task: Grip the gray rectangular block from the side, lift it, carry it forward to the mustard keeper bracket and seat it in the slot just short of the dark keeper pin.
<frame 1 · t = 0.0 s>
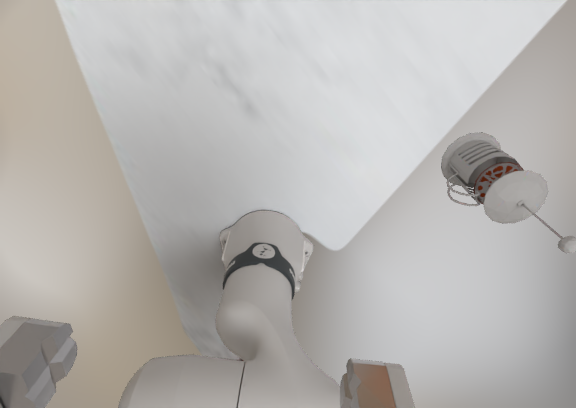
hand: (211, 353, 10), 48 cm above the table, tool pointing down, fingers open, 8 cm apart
french press: (464, 161, 57), on the table
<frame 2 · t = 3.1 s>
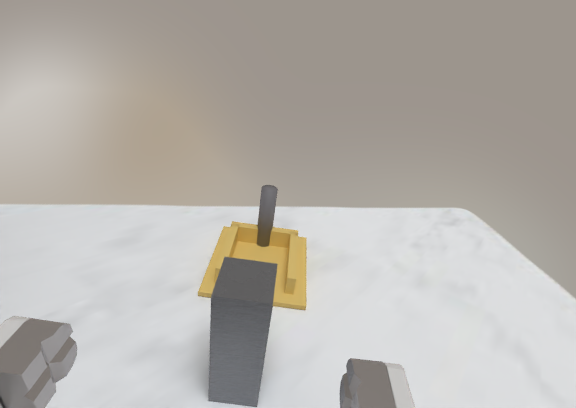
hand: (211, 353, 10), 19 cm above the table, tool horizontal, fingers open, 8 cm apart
gray rectangular block: (237, 380, 29), on the table
keeper: (258, 267, 42), on the table
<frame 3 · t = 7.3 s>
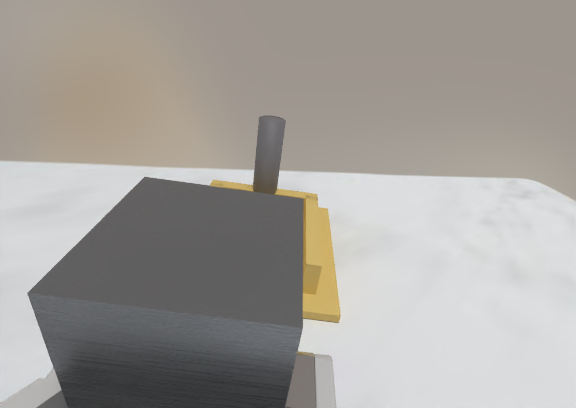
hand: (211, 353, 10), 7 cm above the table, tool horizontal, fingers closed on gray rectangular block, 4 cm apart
keeper: (254, 250, 25), on the table
when the fingers open (8 cm above the table, at t = 11.9 s): gray rectangular block stays where it is, resting on keeper.
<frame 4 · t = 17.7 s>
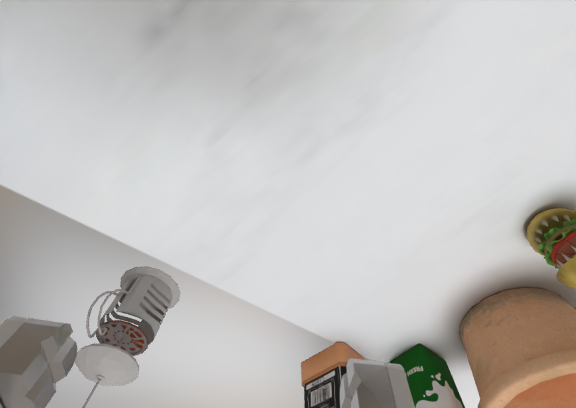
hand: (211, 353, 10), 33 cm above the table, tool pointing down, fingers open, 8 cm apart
pottery: (511, 323, 55), on the table
whiskey bottle: (336, 364, 62), on the table
milk carton: (416, 360, 60), on the table
french press: (148, 284, 54), on the table
hamburger: (547, 224, 45), on the table
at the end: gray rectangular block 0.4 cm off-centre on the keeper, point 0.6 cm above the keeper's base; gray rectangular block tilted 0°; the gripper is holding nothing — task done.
